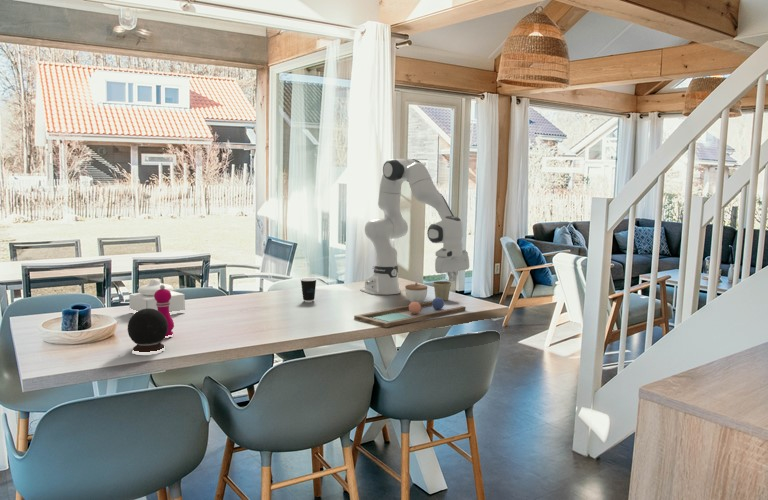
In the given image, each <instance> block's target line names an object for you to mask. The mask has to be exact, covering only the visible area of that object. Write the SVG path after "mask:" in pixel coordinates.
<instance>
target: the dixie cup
mask: <svg viewBox="0 0 768 500" xmlns="http://www.w3.org/2000/svg"><path fill="white" fill-rule="evenodd" d="M317 280H318V279H317V278H315V277H304V278H300V284H301V293H302V300H303V302H304V301H305V302H304V303H313V302H312V301H315V296H316V286H317V285H316V284H317Z"/></svg>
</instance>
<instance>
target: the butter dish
mask: <svg viewBox="0 0 768 500" xmlns="http://www.w3.org/2000/svg"><path fill="white" fill-rule="evenodd" d="M161 285H164V286H165V289H167V290H169V291H170V293H171V299H170V300H169V301H170V306H169V312H172V311H180V310H185V311H186V304H185V303H186V300H185V298H186V297H185V295H186V294H185V293H182V292H178V291H174V287H173V285H170V284H167V283H163V282H162V283H161V281H160V280H159V279H158V278H152V279H150V281H149V283H148V284H144V285H141V286H140V287H139V288H138V289H137V292H135V293H129V295H128V296H129V297H128V302H129V309H130V308H131V309H133V310H136V311H140V310H142V309H147V308H149V309H155V310H157V311H158V308H157V306H156V302H157V301H156V300H155V298H154V295H155V292H156V291H157V290H160V286H161Z"/></svg>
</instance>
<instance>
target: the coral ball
mask: <svg viewBox="0 0 768 500" xmlns="http://www.w3.org/2000/svg"><path fill="white" fill-rule="evenodd" d="M421 310H422V307H421V305H420V304H419V303H418V302H412V303H411V302H410V303H409V310H408V311H409V312H410V313H411V314H413V315H418V314H419V313H420V312H421Z"/></svg>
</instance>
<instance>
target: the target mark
mask: <svg viewBox="0 0 768 500" xmlns="http://www.w3.org/2000/svg"><path fill="white" fill-rule="evenodd" d="M408 317H413V316H412V315H407V314H402V313H399V312H396V313H391V314H386V315H380V316H375V317H371V318H372V319H376V320H380V321H384V322H389V321H394V320H398V319H403V318H408Z"/></svg>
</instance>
